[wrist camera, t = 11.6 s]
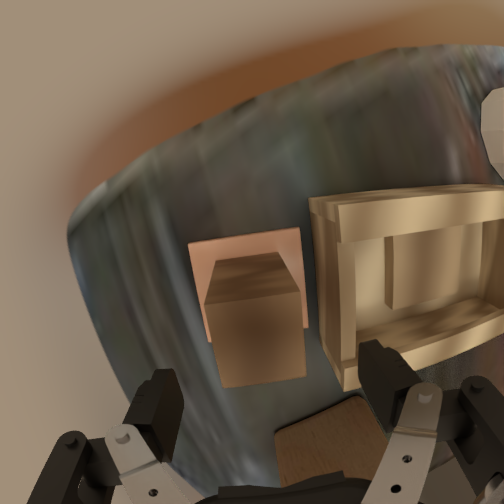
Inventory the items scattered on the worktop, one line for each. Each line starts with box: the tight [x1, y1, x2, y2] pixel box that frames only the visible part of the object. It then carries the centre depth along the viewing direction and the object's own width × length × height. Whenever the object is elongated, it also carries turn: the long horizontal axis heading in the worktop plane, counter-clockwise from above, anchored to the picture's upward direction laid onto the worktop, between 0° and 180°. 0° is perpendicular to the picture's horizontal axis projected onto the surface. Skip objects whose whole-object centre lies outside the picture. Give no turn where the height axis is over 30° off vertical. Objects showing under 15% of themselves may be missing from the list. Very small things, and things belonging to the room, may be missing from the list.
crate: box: [308, 183, 504, 392], centre depth 19 cm, size 18×12×7 cm, turn 98°
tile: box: [188, 227, 309, 342], centre depth 22 cm, size 8×8×1 cm
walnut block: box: [204, 252, 306, 388], centre depth 18 cm, size 4×5×8 cm
